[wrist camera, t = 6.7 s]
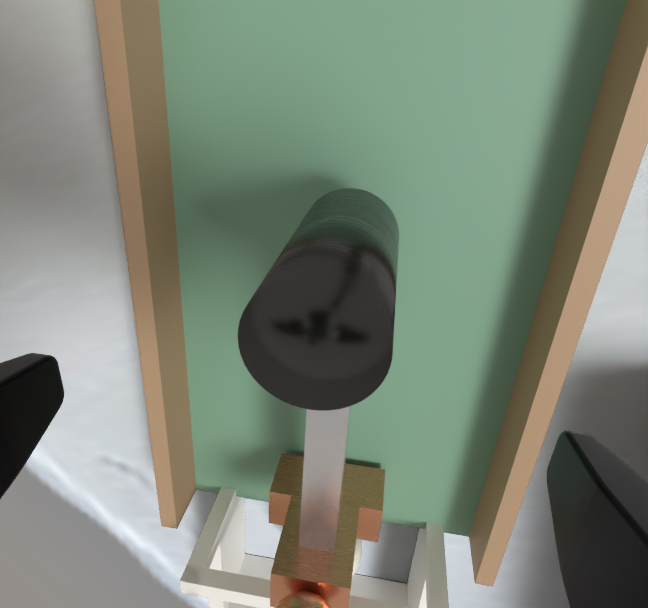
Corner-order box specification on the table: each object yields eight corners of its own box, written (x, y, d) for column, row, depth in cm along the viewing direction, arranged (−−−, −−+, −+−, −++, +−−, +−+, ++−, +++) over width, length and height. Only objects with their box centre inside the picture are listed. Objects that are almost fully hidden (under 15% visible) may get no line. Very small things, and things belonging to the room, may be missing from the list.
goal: (441, 501, 26) (450, 633, 20) (418, 594, 30) (420, 730, 24) (230, 466, 27) (180, 581, 21) (233, 559, 31) (191, 680, 25)
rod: (432, 181, 17) (452, 292, 9) (379, 504, 24) (364, 724, 16) (290, 167, 18) (191, 260, 10) (280, 487, 25) (219, 692, 17)
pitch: (745, -364, 12) (885, -539, 9) (481, 515, 26) (492, 586, 23) (127, -352, 14) (30, -493, 10) (192, 466, 28) (161, 526, 24)
